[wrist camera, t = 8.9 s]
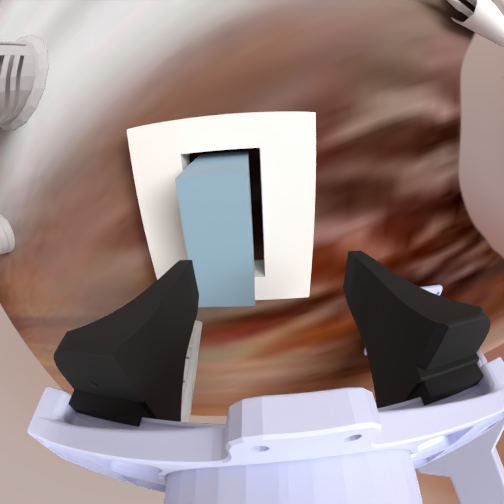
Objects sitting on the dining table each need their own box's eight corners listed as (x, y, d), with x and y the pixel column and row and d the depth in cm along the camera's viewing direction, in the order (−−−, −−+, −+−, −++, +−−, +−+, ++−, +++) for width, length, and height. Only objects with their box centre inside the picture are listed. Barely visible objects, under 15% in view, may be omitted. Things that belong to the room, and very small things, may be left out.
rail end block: (253, 249, 23) (255, 305, 17) (211, 251, 23) (198, 307, 17) (248, 150, 19) (247, 173, 13) (199, 154, 19) (174, 178, 13)
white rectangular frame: (304, 279, 24) (308, 297, 22) (170, 284, 24) (163, 302, 22) (307, 111, 17) (315, 112, 15) (140, 126, 17) (126, 129, 15)
